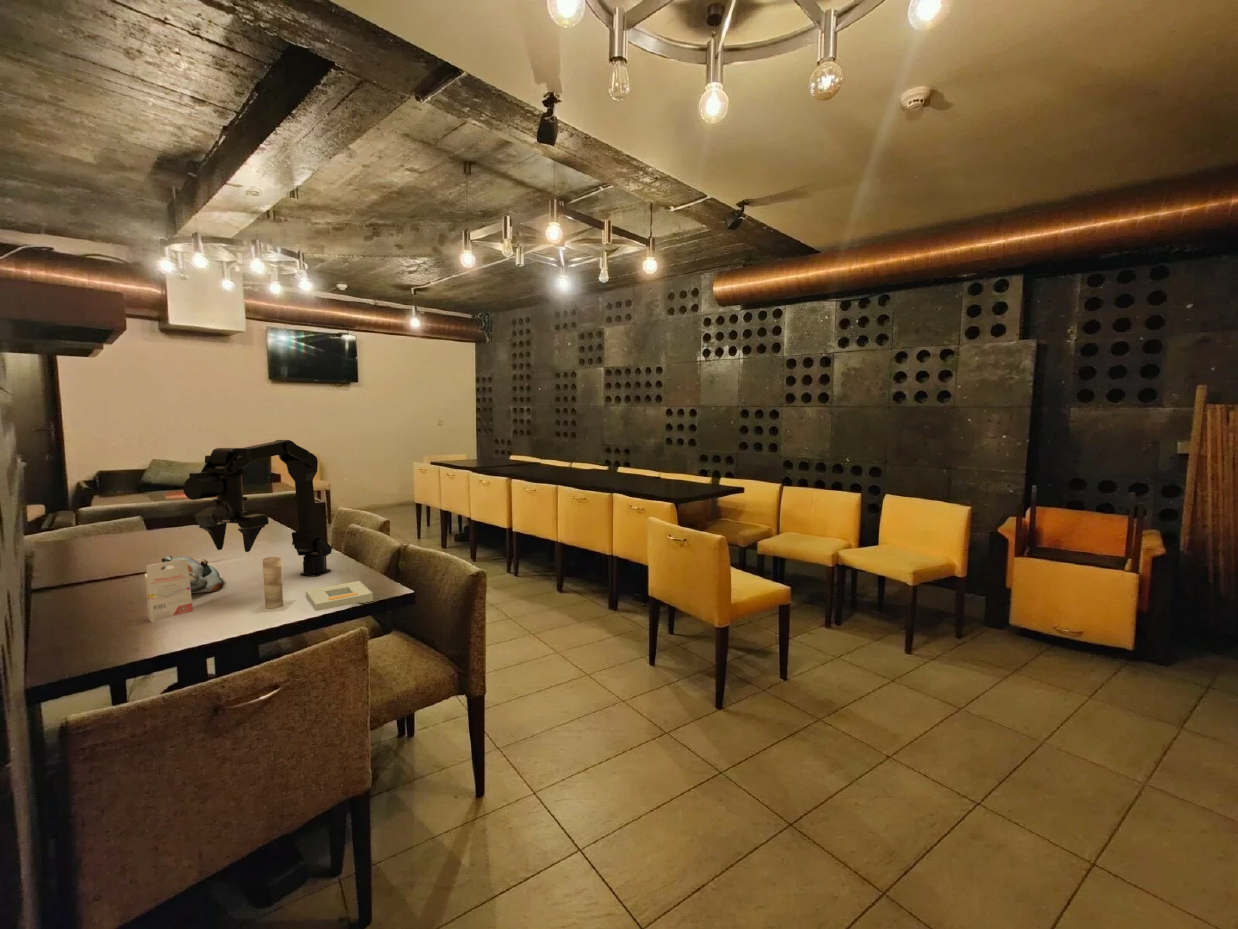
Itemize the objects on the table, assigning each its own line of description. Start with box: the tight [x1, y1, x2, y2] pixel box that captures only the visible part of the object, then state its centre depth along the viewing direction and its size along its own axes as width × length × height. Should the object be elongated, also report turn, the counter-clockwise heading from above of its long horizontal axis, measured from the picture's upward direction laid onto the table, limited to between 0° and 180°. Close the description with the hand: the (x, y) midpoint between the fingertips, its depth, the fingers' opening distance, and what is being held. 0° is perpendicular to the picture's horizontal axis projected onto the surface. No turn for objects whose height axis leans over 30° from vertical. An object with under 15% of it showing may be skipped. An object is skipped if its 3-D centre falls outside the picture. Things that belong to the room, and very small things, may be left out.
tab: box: [250, 599, 297, 614], centre depth 144 cm, size 8×8×1 cm
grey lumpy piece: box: [161, 555, 227, 594], centre depth 155 cm, size 15×12×14 cm
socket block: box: [305, 580, 374, 612], centre depth 150 cm, size 14×14×3 cm
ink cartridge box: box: [144, 559, 194, 623], centre depth 138 cm, size 9×5×15 cm, turn 136°
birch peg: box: [262, 556, 284, 609], centre depth 143 cm, size 4×4×13 cm
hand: (233, 550), depth 147 cm, fingers open, 9 cm apart
